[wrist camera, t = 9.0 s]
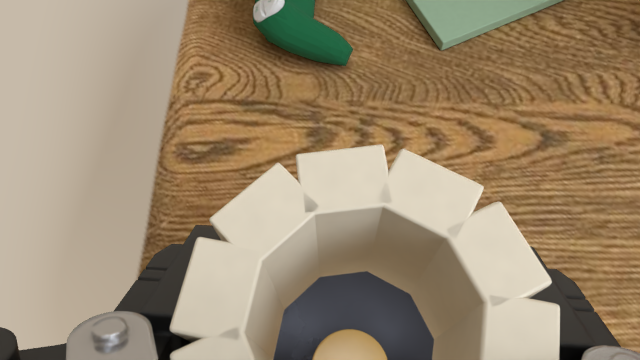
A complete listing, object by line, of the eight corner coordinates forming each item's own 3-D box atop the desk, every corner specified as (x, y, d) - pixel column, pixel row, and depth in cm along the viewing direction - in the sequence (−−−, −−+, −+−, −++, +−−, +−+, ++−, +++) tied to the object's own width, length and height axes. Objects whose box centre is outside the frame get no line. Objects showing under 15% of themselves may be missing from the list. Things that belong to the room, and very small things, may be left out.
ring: (289, 558, 11) (262, 646, 7) (189, 285, 13) (125, 225, 9) (537, 422, 12) (649, 425, 8) (403, 190, 14) (433, 96, 10)
